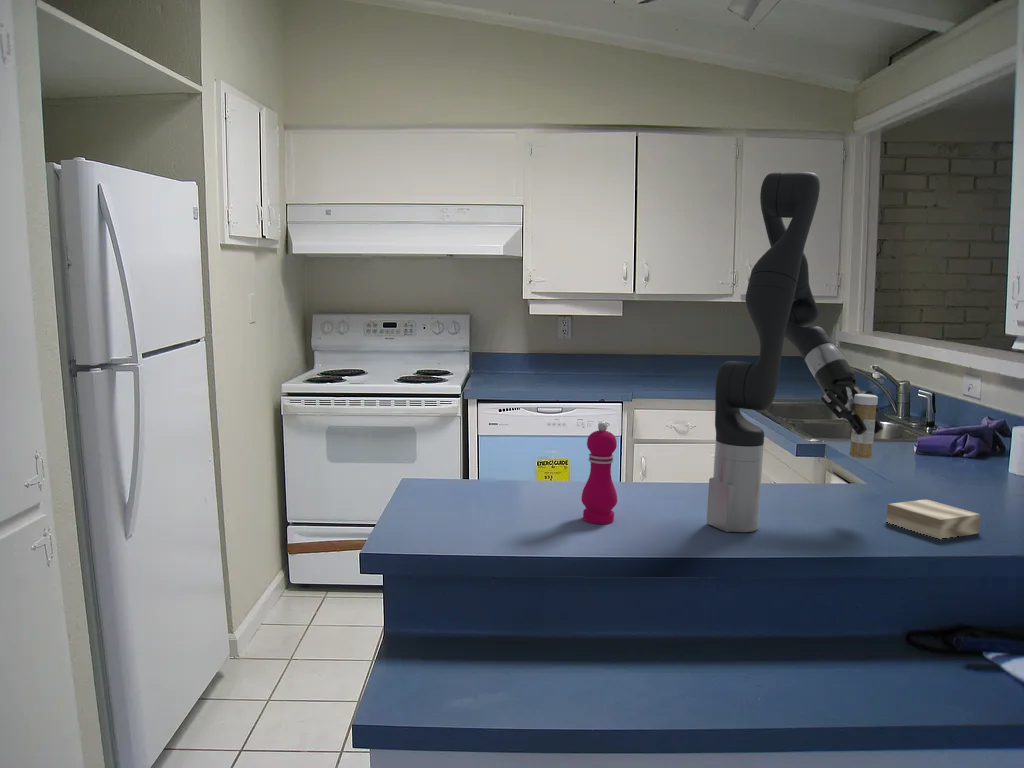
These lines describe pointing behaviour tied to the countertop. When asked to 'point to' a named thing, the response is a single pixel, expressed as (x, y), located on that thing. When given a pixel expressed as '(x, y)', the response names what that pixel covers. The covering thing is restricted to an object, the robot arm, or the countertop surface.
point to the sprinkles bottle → (866, 412)
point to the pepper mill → (600, 478)
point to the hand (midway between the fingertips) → (870, 431)
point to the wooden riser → (933, 518)
